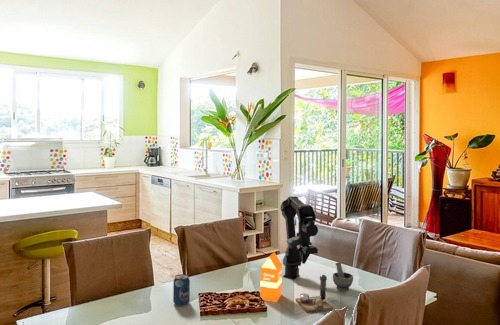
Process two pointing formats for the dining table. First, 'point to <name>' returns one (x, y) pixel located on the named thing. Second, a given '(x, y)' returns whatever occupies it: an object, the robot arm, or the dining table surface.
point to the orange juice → (271, 279)
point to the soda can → (181, 290)
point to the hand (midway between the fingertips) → (303, 263)
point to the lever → (323, 278)
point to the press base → (315, 305)
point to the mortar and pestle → (342, 279)
